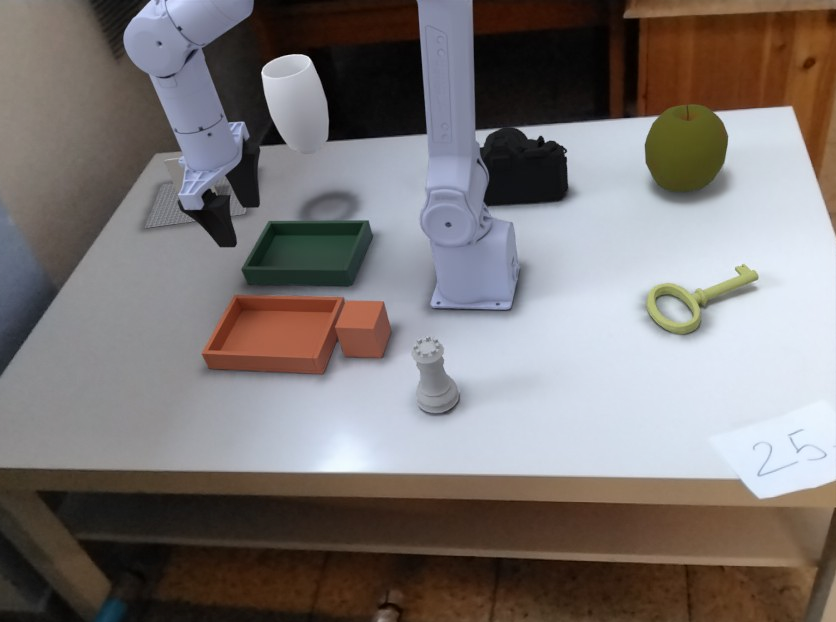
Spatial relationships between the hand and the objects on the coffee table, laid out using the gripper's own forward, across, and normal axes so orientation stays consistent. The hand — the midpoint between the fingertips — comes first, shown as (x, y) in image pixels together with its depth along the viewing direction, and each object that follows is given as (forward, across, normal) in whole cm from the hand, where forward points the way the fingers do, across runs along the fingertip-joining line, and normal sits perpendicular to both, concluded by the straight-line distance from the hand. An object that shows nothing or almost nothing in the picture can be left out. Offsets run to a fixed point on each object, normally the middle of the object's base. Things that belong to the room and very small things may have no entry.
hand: (240, 225), depth 97 cm
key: (+10, +1, +52) cm, 53 cm away
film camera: (+10, -22, +28) cm, 37 cm away
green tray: (+10, -6, +4) cm, 12 cm away
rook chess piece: (+10, +17, +26) cm, 33 cm away
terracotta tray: (+10, +9, +5) cm, 14 cm away
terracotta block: (+10, +9, +16) cm, 21 cm away
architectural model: (+10, -20, -18) cm, 29 cm away
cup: (+10, -17, +3) cm, 20 cm away
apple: (+10, -22, +50) cm, 56 cm away
